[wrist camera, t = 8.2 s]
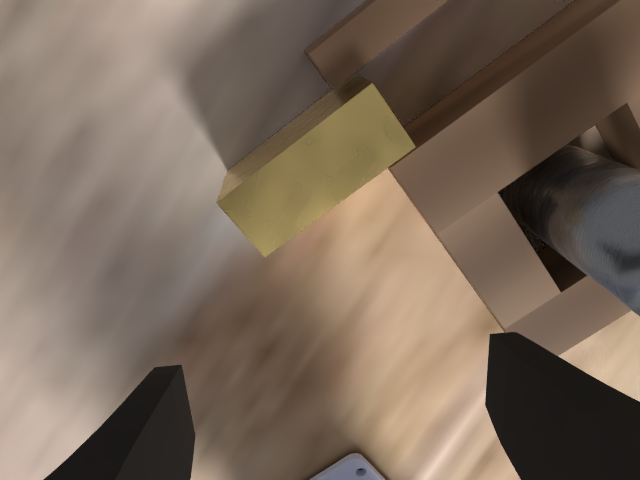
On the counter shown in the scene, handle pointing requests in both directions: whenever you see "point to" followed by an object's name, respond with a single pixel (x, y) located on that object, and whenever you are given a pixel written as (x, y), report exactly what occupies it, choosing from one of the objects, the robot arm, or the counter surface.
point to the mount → (510, 149)
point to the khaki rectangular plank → (313, 164)
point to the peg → (585, 216)
